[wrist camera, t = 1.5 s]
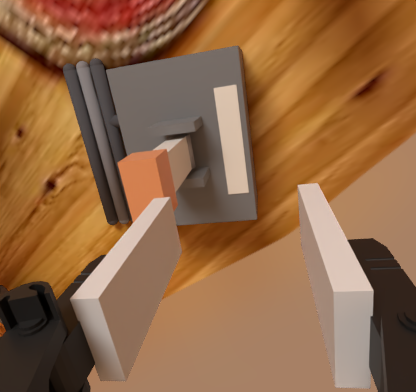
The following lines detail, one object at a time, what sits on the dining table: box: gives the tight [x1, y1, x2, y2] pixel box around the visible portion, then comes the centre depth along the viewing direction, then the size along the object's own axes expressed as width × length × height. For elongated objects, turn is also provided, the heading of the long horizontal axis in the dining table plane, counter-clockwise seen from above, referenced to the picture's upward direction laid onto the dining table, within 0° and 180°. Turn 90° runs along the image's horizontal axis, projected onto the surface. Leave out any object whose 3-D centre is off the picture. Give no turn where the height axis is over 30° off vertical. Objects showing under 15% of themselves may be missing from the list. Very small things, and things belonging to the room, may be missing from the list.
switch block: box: [106, 46, 257, 226], centre depth 31 cm, size 12×16×10 cm
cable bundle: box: [63, 58, 133, 225], centre depth 37 cm, size 8×19×1 cm, turn 9°
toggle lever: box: [118, 134, 195, 223], centre depth 24 cm, size 2×4×11 cm, turn 9°
